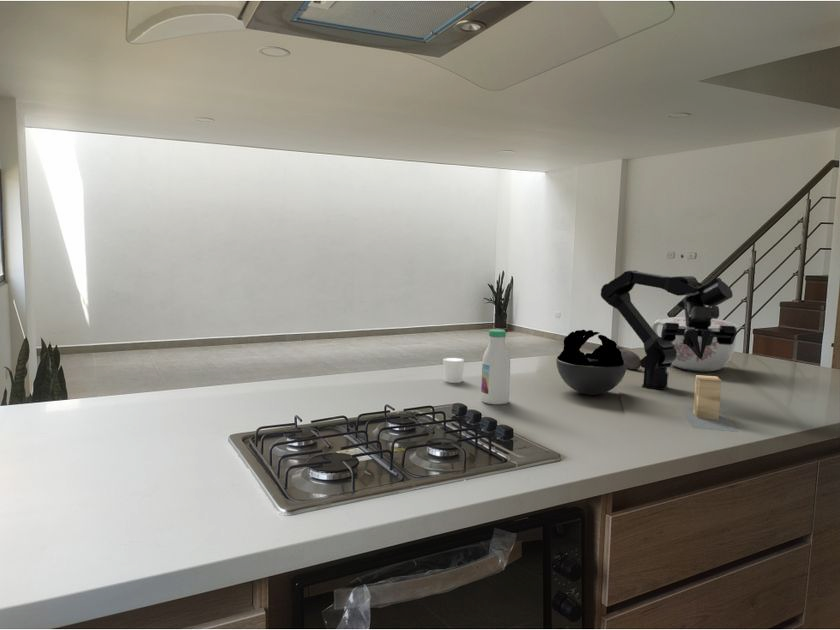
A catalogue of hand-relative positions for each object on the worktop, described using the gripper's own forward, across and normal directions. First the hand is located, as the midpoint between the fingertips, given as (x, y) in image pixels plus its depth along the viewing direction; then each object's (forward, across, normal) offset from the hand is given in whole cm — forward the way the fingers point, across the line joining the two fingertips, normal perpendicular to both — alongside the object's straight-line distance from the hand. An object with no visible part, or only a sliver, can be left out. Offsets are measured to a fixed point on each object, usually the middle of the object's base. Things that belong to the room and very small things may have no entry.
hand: (700, 357), depth 160 cm
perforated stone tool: (-25, -15, +44) cm, 53 cm away
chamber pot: (-31, +10, +51) cm, 60 cm away
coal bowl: (+7, -28, +13) cm, 32 cm away
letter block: (+17, 0, +1) cm, 17 cm away
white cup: (+5, -70, +15) cm, 72 cm away
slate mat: (+20, 0, -1) cm, 20 cm away
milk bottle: (+20, -54, 0) cm, 57 cm away
